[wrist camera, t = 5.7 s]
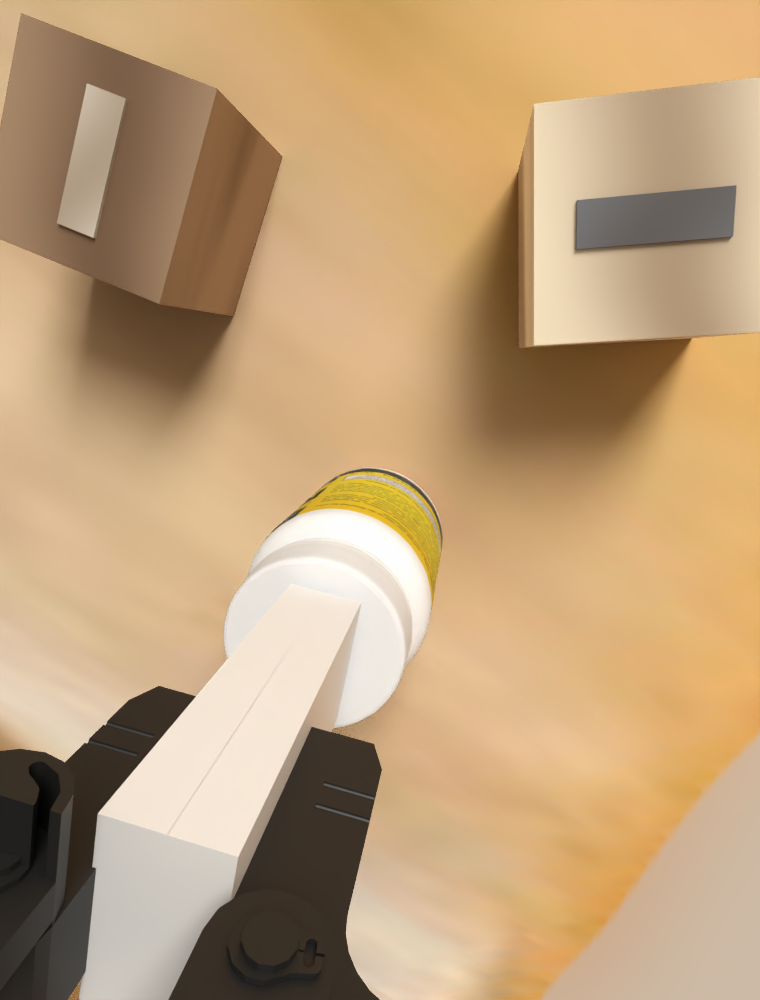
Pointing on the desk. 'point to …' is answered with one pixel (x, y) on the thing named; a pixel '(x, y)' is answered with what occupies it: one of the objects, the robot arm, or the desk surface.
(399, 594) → the supplement bottle
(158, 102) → the walnut block
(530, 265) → the beech block
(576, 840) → the desk surface
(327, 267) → the desk surface
